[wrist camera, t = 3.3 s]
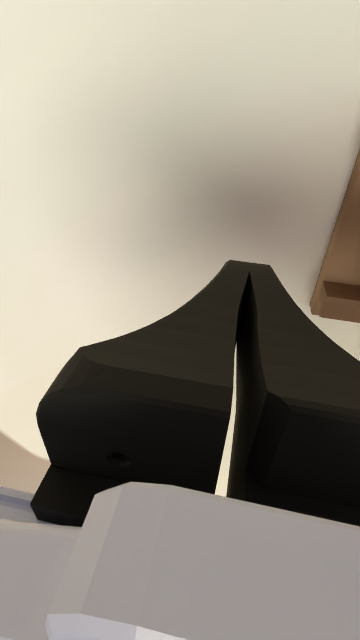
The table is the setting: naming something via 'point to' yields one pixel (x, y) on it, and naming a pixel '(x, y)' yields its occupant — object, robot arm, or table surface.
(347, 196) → the chute
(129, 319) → the table surface
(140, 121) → the table surface
